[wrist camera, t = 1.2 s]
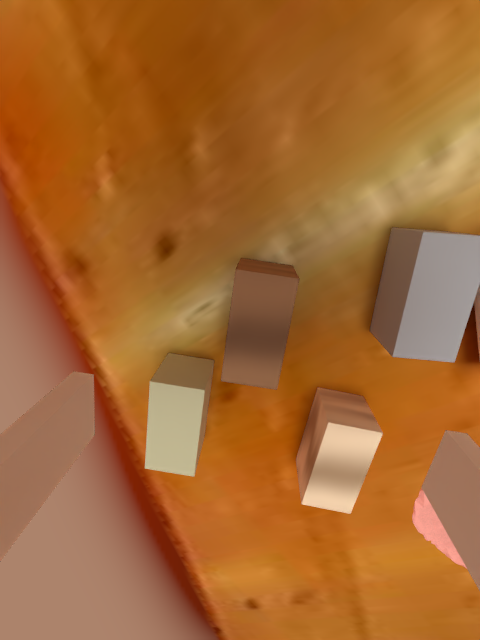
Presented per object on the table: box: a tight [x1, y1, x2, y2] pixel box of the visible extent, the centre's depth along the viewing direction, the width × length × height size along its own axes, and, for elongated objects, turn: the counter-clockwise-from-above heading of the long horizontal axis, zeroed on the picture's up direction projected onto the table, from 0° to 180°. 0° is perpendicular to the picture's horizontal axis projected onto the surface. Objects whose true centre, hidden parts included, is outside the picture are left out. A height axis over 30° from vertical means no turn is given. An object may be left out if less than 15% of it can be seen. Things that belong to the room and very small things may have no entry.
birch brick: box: [296, 387, 383, 514], centre depth 27 cm, size 8×4×5 cm, turn 170°
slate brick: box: [370, 227, 480, 362], centre depth 22 cm, size 8×4×5 cm, turn 176°
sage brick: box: [145, 353, 214, 476], centre depth 27 cm, size 8×4×5 cm, turn 172°
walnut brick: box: [221, 258, 299, 390], centre depth 24 cm, size 8×4×5 cm, turn 172°
